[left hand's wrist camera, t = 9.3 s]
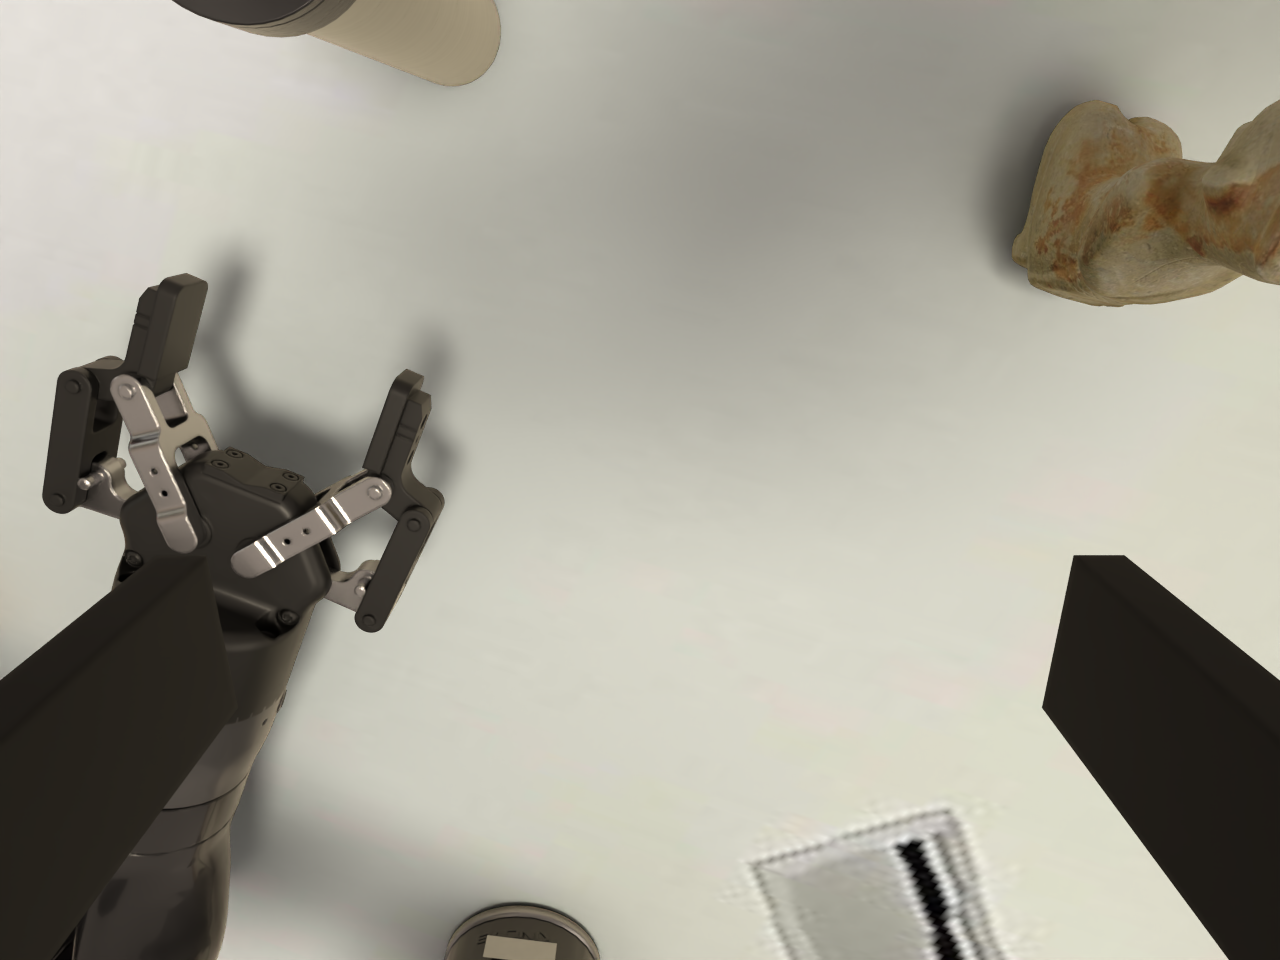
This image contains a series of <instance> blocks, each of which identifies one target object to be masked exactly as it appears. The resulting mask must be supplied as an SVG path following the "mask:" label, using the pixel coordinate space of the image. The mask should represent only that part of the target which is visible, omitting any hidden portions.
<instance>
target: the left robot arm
mask: <svg viewBox="0 0 1280 960" xmlns="http://www.w3.org/2000/svg"><path fill="white" fill-rule="evenodd" d="M237 708H238V706H237V701H236V696H235V691H234V686H233V682H232V677H231V672H230V667H229V662H228V658H227V653H226V648H225V643H224V638H223V633H222V629H221V624H220V619H219V614H218V609H217V605H216V600H215V595H214V590H213V585H212V580H211V576H210V571H209V566H208V561H207V556H206V555H155V556H154V557H153V558H152V559H151V560H149V561H148V562H147V563H146V564H144V565H143V566H142V567H141V568H139V569H138V570H137V571H136V572H134V573H133V574H132V575H131V576H129V577H128V578H127V579H126V580H124V581H123V582H122V583H121V584H119V585H118V586H117V587H116V588H115V589H113V590H112V591H111V592H110V593H108V594H107V595H106V596H105V597H103V598H102V599H101V600H100V601H98V602H97V603H96V604H95V605H93V606H92V607H91V608H90V609H88V610H87V611H86V612H85V613H83V614H82V615H81V616H80V617H79V618H77V619H76V620H75V621H74V622H72V623H71V624H70V625H69V626H67V627H66V628H65V629H64V630H62V631H61V632H60V633H59V634H57V635H56V636H55V637H54V638H52V639H51V640H50V641H49V642H47V643H46V644H45V645H44V646H42V647H41V648H40V649H39V650H38V651H36V652H35V653H34V654H33V655H31V656H30V657H29V658H28V659H26V660H25V661H24V662H23V663H21V664H20V665H19V666H18V667H16V668H15V669H14V670H13V671H11V672H10V673H9V674H8V675H6V676H5V677H4V678H3V679H2V680H0V960H51V959H52V958H53V956H54V955H55V954H56V952H57V951H58V950H59V948H60V947H61V946H62V944H63V943H64V942H65V940H66V939H67V938H68V936H69V935H70V934H71V932H72V931H73V929H74V928H75V927H76V925H77V924H78V923H79V921H80V920H81V919H82V917H83V916H84V915H85V913H86V912H87V911H88V909H89V908H90V907H91V905H92V904H93V902H94V901H95V900H96V898H97V897H98V896H99V894H100V893H101V892H102V890H103V889H104V888H105V886H106V885H107V884H108V882H109V881H110V880H111V878H112V877H113V876H114V874H115V873H116V871H117V870H118V869H119V867H120V866H121V865H122V863H123V862H124V861H125V859H126V858H127V857H128V855H129V854H130V853H131V851H132V850H133V849H134V847H135V846H136V844H137V843H138V842H139V840H140V839H141V838H142V836H143V835H144V834H145V832H146V831H147V830H148V828H149V827H150V826H151V824H152V823H153V822H154V820H155V819H156V818H157V816H158V815H159V813H160V812H161V811H162V809H163V808H164V807H165V805H166V804H167V803H168V801H169V800H170V799H171V797H172V796H173V795H174V793H175V792H176V791H177V789H178V788H179V786H180V785H181V784H182V782H183V781H184V780H185V778H186V777H187V776H188V774H189V773H190V772H191V770H192V769H193V768H194V766H195V765H196V764H197V762H198V761H199V760H200V758H201V757H202V755H203V754H204V753H205V751H206V750H207V749H208V747H209V746H210V745H211V743H212V742H213V741H214V739H215V738H216V737H217V735H218V734H219V733H220V731H221V730H222V728H223V727H224V726H225V724H226V723H227V722H228V720H229V719H230V718H231V716H232V715H233V714H234V712H235V711H236V710H237ZM1042 708H1043V710H1044V711H1045V712H1046V714H1047V715H1048V716H1049V718H1050V719H1051V720H1052V722H1053V723H1054V724H1055V726H1056V727H1057V728H1058V730H1059V731H1060V733H1061V734H1062V735H1063V737H1064V738H1065V739H1066V741H1067V742H1068V743H1069V745H1070V746H1071V747H1072V749H1073V750H1074V751H1075V753H1076V754H1077V755H1078V757H1079V758H1080V760H1081V761H1082V762H1083V764H1084V765H1085V766H1086V768H1087V769H1088V770H1089V772H1090V773H1091V774H1092V776H1093V777H1094V778H1095V780H1096V781H1097V782H1098V784H1099V785H1100V786H1101V788H1102V789H1103V791H1104V792H1105V793H1106V795H1107V796H1108V797H1109V799H1110V800H1111V801H1112V803H1113V804H1114V805H1115V807H1116V808H1117V809H1118V811H1119V812H1120V813H1121V815H1122V816H1123V818H1124V819H1125V820H1126V822H1127V823H1128V824H1129V826H1130V827H1131V828H1132V830H1133V831H1134V832H1135V834H1136V835H1137V836H1138V838H1139V839H1140V840H1141V842H1142V843H1143V844H1144V846H1145V847H1146V849H1147V850H1148V851H1149V853H1150V854H1151V855H1152V857H1153V858H1154V859H1155V861H1156V862H1157V863H1158V865H1159V866H1160V867H1161V869H1162V870H1163V871H1164V873H1165V874H1166V876H1167V877H1168V878H1169V880H1170V881H1171V882H1172V884H1173V885H1174V886H1175V888H1176V889H1177V890H1178V892H1179V893H1180V894H1181V896H1182V897H1183V898H1184V900H1185V901H1186V902H1187V904H1188V905H1189V907H1190V908H1191V909H1192V911H1193V912H1194V913H1195V915H1196V916H1197V917H1198V919H1199V920H1200V921H1201V923H1202V924H1203V925H1204V927H1205V928H1206V929H1207V931H1208V932H1209V934H1210V935H1211V936H1212V938H1213V939H1214V940H1215V942H1216V943H1217V944H1218V946H1219V947H1220V948H1221V950H1222V951H1223V952H1224V954H1225V955H1226V956H1227V958H1228V959H1229V960H1280V680H1278V679H1277V678H1276V677H1275V676H1274V675H1272V674H1271V673H1270V672H1269V671H1267V670H1266V669H1265V668H1264V667H1262V666H1261V665H1260V664H1259V663H1257V662H1256V661H1255V660H1254V659H1252V658H1251V657H1250V656H1249V655H1247V654H1246V653H1245V652H1244V651H1242V650H1241V649H1240V648H1239V647H1238V646H1236V645H1235V644H1234V643H1233V642H1231V641H1230V640H1229V639H1228V638H1226V637H1225V636H1224V635H1223V634H1221V633H1220V632H1219V631H1218V630H1216V629H1215V628H1214V627H1213V626H1211V625H1210V624H1209V623H1208V622H1206V621H1205V620H1204V619H1203V618H1201V617H1200V616H1199V615H1198V614H1197V613H1195V612H1194V611H1193V610H1192V609H1190V608H1189V607H1188V606H1187V605H1185V604H1184V603H1183V602H1182V601H1180V600H1179V599H1178V598H1177V597H1175V596H1174V595H1173V594H1172V593H1170V592H1169V591H1168V590H1167V589H1165V588H1164V587H1163V586H1162V585H1161V584H1159V583H1158V582H1157V581H1156V580H1154V579H1153V578H1152V577H1151V576H1149V575H1148V574H1147V573H1146V572H1144V571H1143V570H1142V569H1141V568H1139V567H1138V566H1137V565H1136V564H1134V563H1133V562H1132V561H1131V560H1129V559H1128V558H1127V557H1126V556H1125V555H1074V556H1073V561H1072V566H1071V571H1070V576H1069V580H1068V585H1067V590H1066V595H1065V600H1064V605H1063V609H1062V614H1061V619H1060V624H1059V629H1058V633H1057V638H1056V643H1055V648H1054V653H1053V657H1052V662H1051V667H1050V672H1049V677H1048V682H1047V686H1046V691H1045V696H1044V701H1043V706H1042Z"/></svg>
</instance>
